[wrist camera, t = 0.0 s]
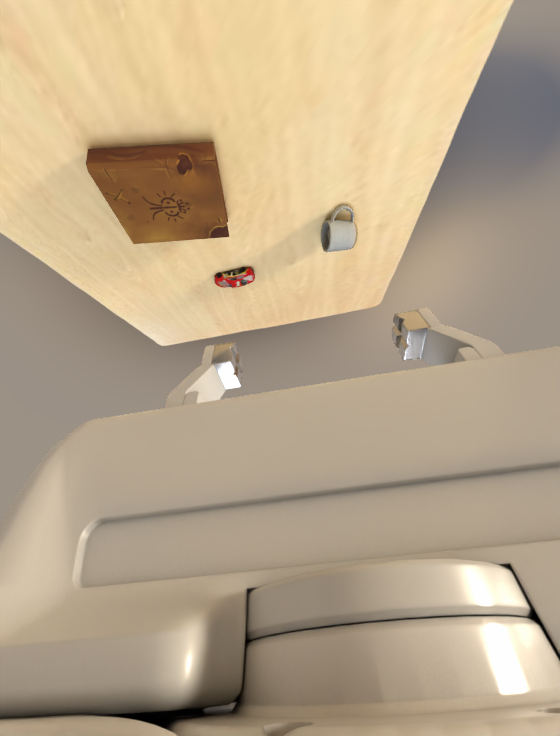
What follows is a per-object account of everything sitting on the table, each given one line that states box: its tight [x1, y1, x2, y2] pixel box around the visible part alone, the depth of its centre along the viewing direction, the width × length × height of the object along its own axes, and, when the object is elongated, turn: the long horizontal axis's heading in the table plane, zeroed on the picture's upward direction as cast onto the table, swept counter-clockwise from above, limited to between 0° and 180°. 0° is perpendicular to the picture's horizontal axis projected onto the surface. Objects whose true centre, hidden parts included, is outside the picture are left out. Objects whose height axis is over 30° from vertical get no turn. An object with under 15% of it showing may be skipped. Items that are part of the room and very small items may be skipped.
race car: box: [214, 267, 255, 288], centre depth 92 cm, size 13×5×4 cm, turn 99°
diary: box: [86, 142, 229, 244], centre depth 62 cm, size 23×19×6 cm
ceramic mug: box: [321, 205, 358, 252], centre depth 76 cm, size 11×8×8 cm
